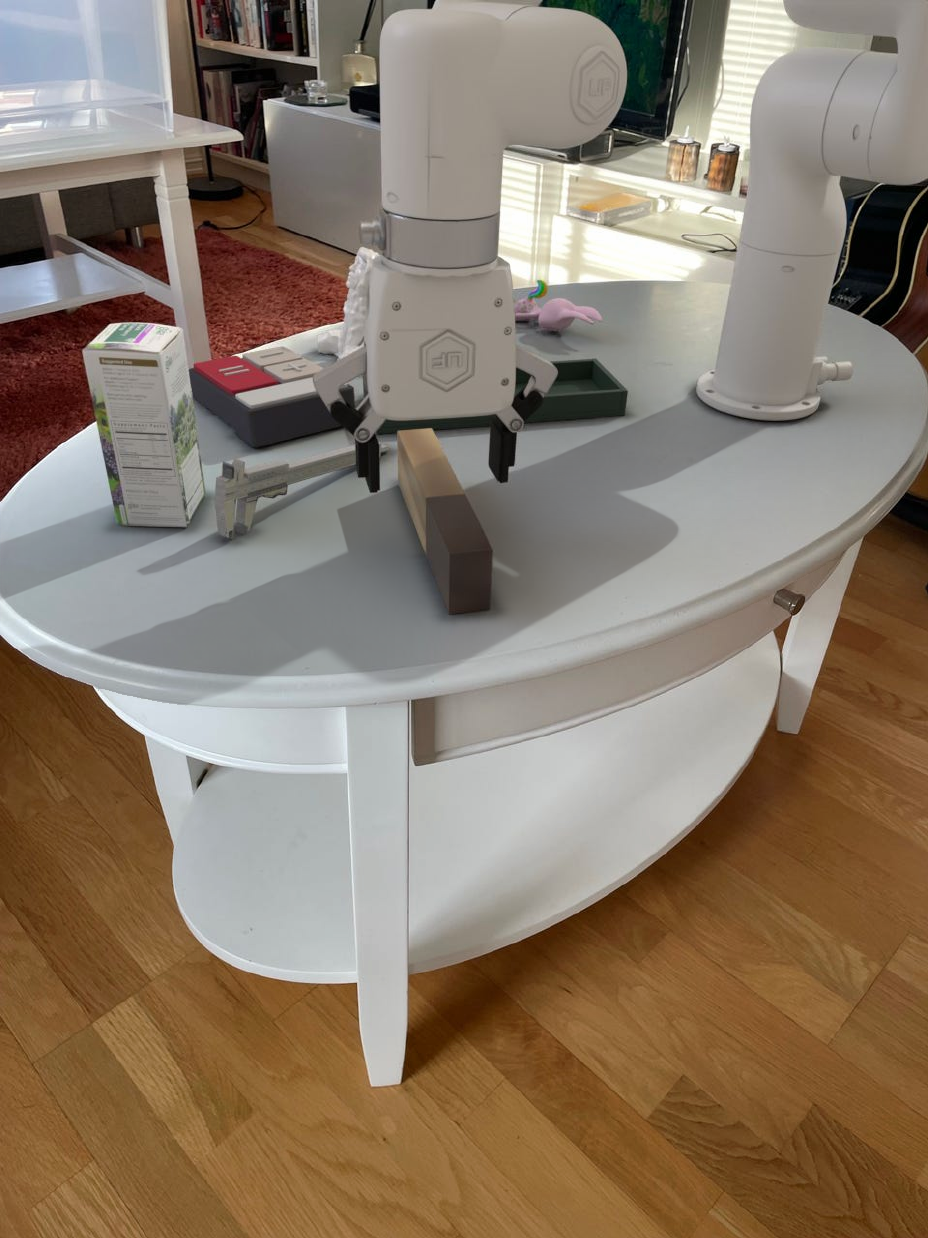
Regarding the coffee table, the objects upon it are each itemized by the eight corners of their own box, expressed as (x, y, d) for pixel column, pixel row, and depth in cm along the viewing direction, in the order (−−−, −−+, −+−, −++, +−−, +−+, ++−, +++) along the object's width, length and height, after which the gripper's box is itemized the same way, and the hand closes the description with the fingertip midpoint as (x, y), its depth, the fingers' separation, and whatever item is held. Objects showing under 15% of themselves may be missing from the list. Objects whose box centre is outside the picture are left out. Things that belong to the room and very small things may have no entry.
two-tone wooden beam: (431, 480, 81) (432, 427, 78) (490, 609, 65) (493, 549, 62) (398, 484, 80) (396, 430, 78) (448, 614, 65) (449, 553, 62)
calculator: (284, 341, 98) (355, 379, 88) (289, 381, 101) (358, 422, 90) (185, 361, 93) (247, 403, 83) (192, 402, 95) (253, 448, 85)
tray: (593, 381, 101) (596, 358, 99) (625, 415, 94) (628, 390, 92) (363, 397, 96) (362, 373, 94) (377, 434, 89) (376, 408, 87)
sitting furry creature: (312, 349, 107) (304, 240, 100) (381, 339, 110) (378, 233, 103) (342, 377, 100) (335, 262, 93) (414, 366, 103) (414, 254, 96)
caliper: (229, 545, 72) (218, 471, 68) (219, 540, 72) (208, 467, 69) (390, 452, 86) (388, 386, 82) (380, 449, 86) (378, 384, 82)
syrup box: (139, 492, 78) (104, 320, 70) (209, 495, 78) (182, 322, 70) (116, 526, 73) (76, 346, 65) (191, 529, 73) (160, 349, 65)
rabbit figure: (490, 330, 118) (580, 342, 108) (486, 281, 115) (578, 288, 105) (524, 320, 121) (614, 331, 111) (522, 272, 119) (614, 278, 108)
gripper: (311, 256, 55) (325, 513, 65) (587, 250, 59) (561, 493, 68) (299, 227, 61) (314, 466, 71) (550, 223, 65) (531, 451, 74)
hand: (435, 479), depth 69 cm, fingers open, 9 cm apart
